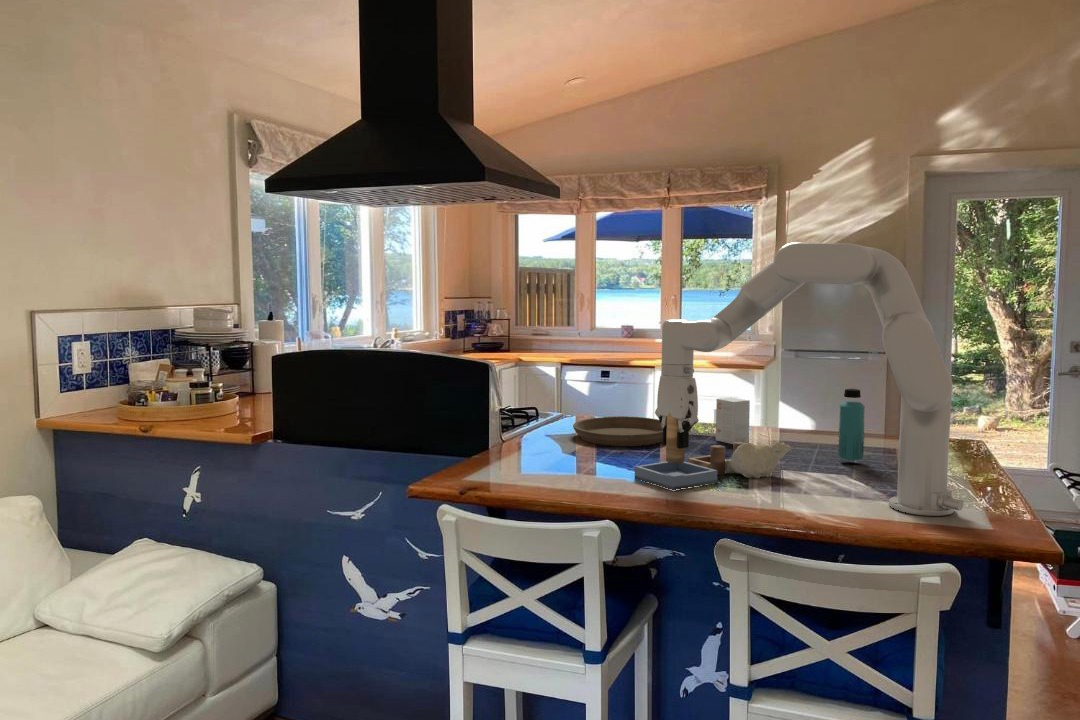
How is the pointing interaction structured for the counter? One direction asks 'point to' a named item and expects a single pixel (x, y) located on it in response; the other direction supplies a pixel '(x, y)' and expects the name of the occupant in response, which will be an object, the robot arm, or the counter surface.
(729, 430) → the small box
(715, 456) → the peg
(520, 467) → the counter surface
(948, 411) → the robot arm
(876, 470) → the counter surface
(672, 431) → the dowel
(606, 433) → the plant saucer
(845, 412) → the beverage bottle
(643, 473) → the tray
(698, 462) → the dowel socket
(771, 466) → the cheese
